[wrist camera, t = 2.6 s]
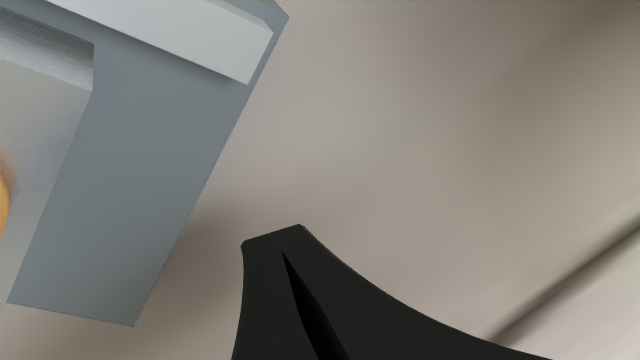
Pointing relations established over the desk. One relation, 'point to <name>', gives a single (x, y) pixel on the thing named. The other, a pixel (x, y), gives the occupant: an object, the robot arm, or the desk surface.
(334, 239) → the desk surface
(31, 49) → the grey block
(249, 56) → the hole board
